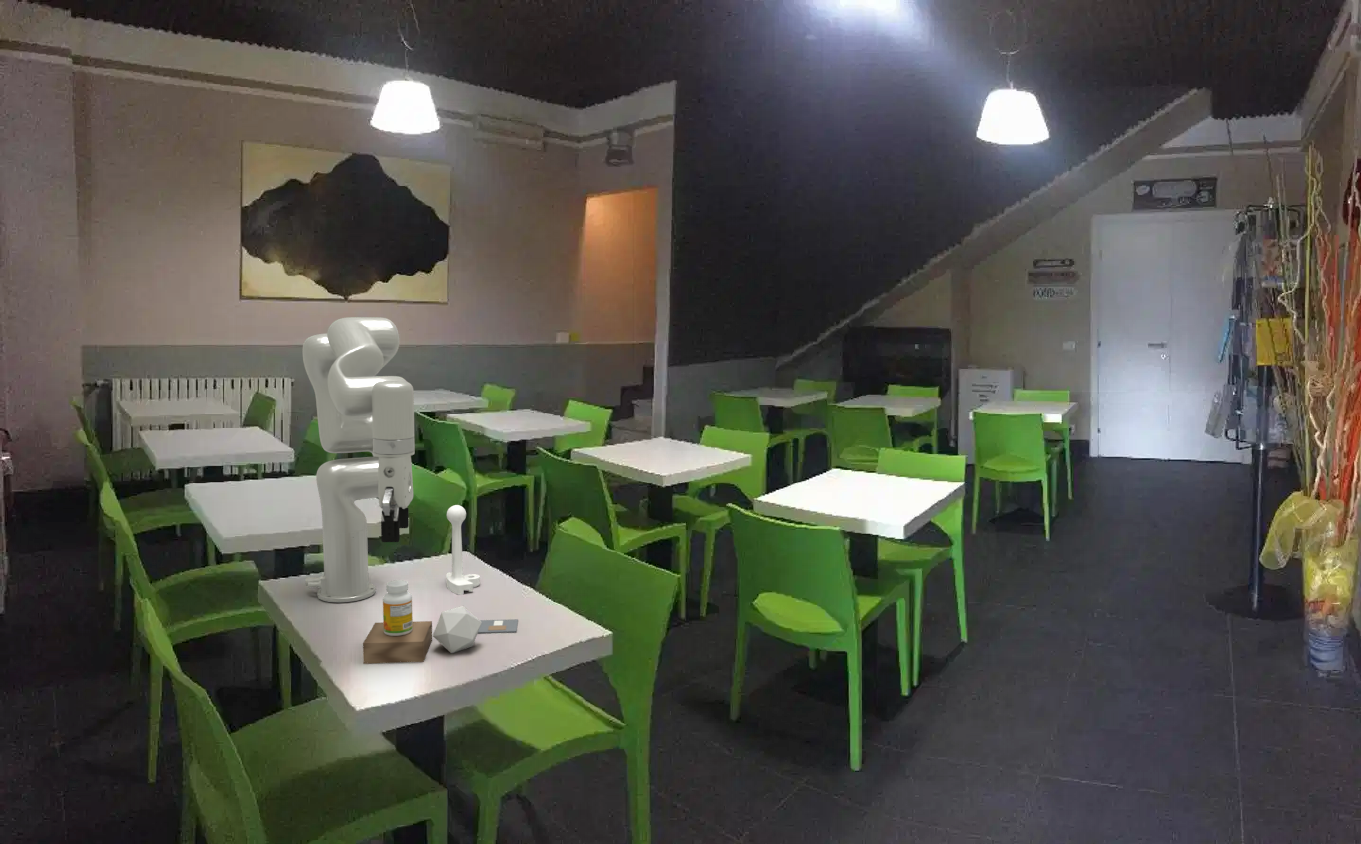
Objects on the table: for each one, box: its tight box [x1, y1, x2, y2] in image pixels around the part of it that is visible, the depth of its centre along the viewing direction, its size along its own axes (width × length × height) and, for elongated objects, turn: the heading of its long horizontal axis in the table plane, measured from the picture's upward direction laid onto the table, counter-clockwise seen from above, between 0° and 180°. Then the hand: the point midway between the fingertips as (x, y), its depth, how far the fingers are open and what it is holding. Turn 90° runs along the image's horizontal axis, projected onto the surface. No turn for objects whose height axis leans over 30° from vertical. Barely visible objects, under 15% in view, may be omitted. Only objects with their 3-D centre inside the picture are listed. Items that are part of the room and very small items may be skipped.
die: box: [432, 605, 482, 654], centre depth 177 cm, size 8×9×10 cm
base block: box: [362, 620, 433, 665], centre depth 174 cm, size 11×11×4 cm
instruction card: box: [477, 618, 519, 635], centre depth 189 cm, size 8×7×1 cm
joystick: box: [445, 504, 481, 596], centre depth 214 cm, size 11×8×20 cm
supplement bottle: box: [382, 579, 414, 636], centre depth 173 cm, size 5×5×10 cm
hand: (395, 534), depth 172 cm, fingers open, 9 cm apart
